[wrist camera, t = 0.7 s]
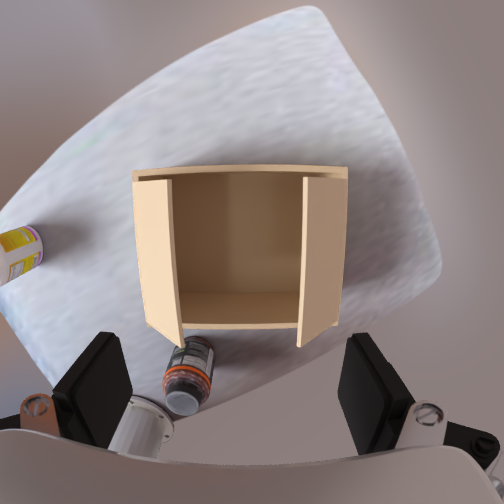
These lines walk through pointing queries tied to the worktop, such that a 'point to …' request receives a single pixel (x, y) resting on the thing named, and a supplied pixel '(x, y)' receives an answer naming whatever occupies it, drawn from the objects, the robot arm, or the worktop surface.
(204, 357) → the supplement bottle
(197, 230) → the carton
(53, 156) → the worktop surface
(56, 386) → the robot arm
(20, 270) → the supplement bottle
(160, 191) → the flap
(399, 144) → the worktop surface
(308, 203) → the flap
